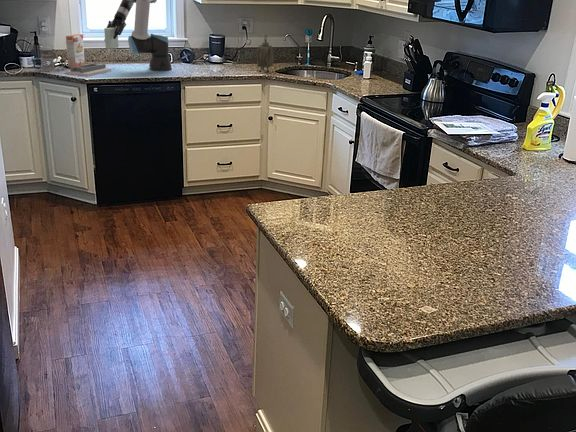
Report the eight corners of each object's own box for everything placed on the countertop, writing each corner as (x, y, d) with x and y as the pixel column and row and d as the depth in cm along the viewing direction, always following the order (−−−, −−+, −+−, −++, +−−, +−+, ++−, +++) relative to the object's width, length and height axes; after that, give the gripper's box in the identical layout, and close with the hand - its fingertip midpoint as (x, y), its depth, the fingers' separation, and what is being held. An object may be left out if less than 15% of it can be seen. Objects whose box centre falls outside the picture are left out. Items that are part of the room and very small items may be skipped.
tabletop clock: (261, 69, 447) (262, 33, 438) (273, 70, 446) (274, 34, 437) (256, 72, 434) (257, 35, 425) (269, 73, 433) (270, 36, 423)
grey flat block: (111, 71, 416) (110, 64, 415) (88, 76, 396) (87, 69, 394) (89, 68, 422) (88, 62, 421) (65, 73, 401) (64, 66, 400)
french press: (39, 69, 410) (35, 30, 401) (57, 68, 416) (54, 29, 406) (41, 71, 402) (37, 31, 393) (60, 71, 408) (56, 31, 398)
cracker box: (76, 68, 420) (73, 36, 412) (67, 67, 421) (64, 35, 413) (85, 65, 433) (83, 34, 425) (77, 64, 434) (74, 33, 426)
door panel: (118, 47, 432) (117, 27, 427) (110, 48, 424) (109, 28, 419) (113, 46, 433) (112, 27, 428) (105, 48, 425) (104, 28, 421)
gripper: (134, 19, 432) (121, 46, 424) (113, 18, 438) (100, 44, 430) (129, 12, 426) (116, 39, 418) (108, 10, 432) (95, 37, 423)
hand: (108, 41), depth 424 cm, fingers closed on door panel, 4 cm apart
